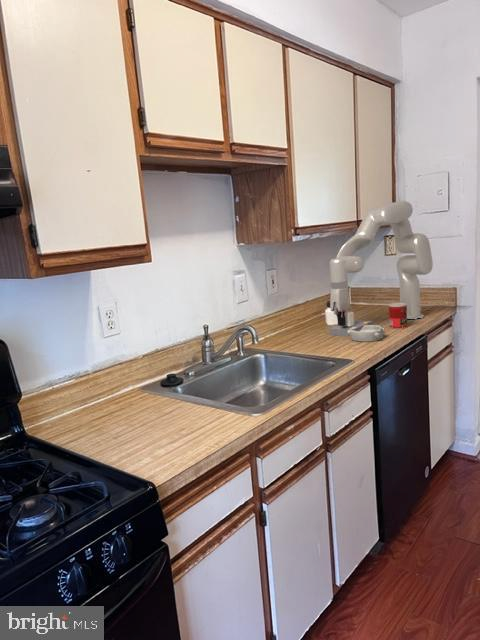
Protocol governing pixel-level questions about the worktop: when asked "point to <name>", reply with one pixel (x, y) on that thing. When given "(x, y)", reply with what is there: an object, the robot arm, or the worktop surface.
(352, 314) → the block
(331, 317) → the medicine bottle
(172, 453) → the worktop surface
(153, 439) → the worktop surface
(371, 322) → the breaker panel
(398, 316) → the canned food
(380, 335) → the dish
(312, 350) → the worktop surface
